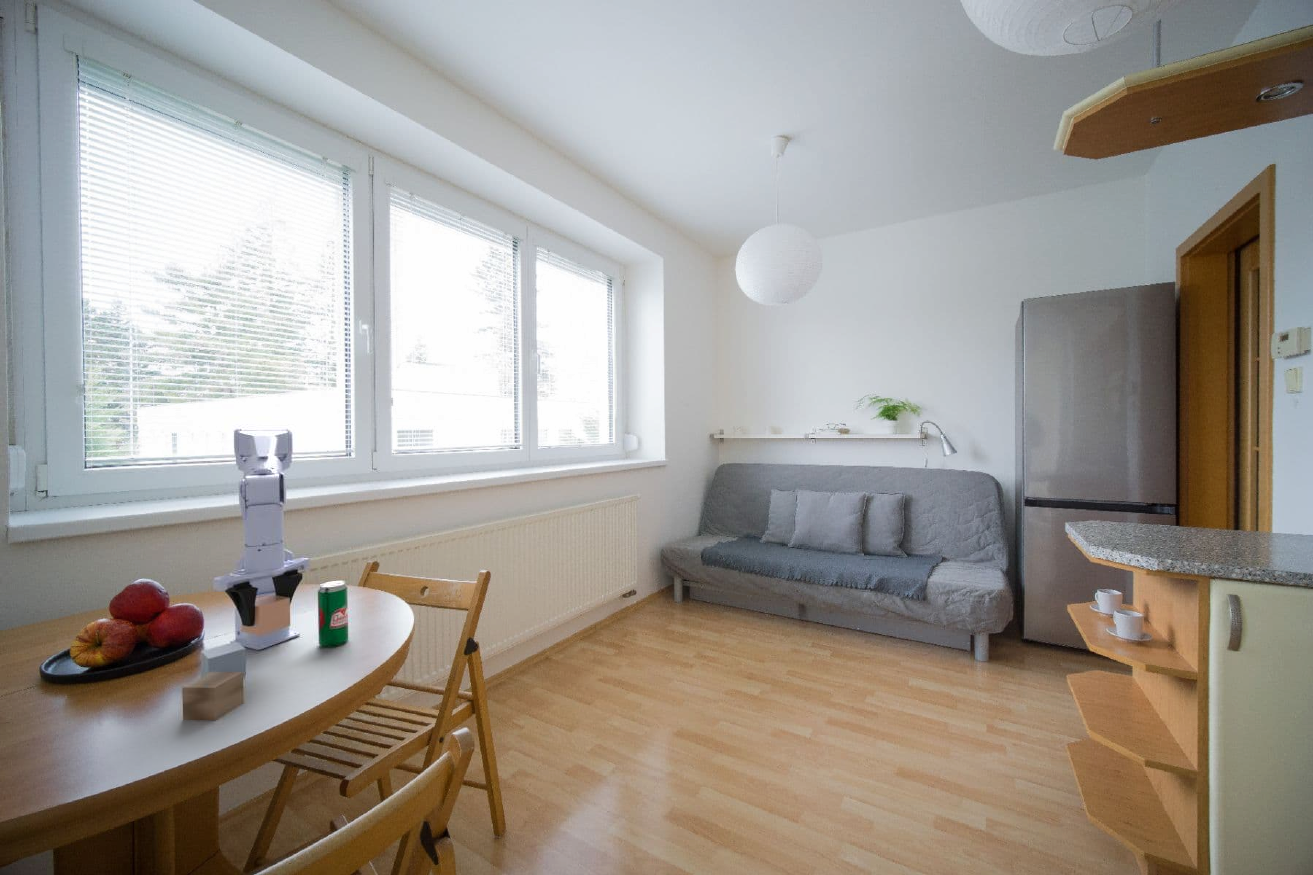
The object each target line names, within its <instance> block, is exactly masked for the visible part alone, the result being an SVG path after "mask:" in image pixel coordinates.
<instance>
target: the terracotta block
mask: <svg viewBox="0 0 1313 875" xmlns="http://www.w3.org/2000/svg"><path fill="white" fill-rule="evenodd" d="M287 626H290V627H291V604H290V598H288V597H283V596H278V595H268V596H265V597H261V598H258V599H256V600H255V622H254V626H251V627H248V626H244V625H243V624H242V632H245V633H250V634H254V635H258V636H261V635H264V634H267V633H270V632H273V631H276V630H279V629H282V628H285V627H287Z"/></svg>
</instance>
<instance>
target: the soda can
mask: <svg viewBox="0 0 1313 875" xmlns="http://www.w3.org/2000/svg"><path fill="white" fill-rule="evenodd" d="M348 596H349V595H348V586H347V584H346V582H345V581H343V580H333V581H328V582H324V583H322V584H319V588H318V590H317V619H318V621H317V624H318V633H317V634H318V645H320V646H321V647H323V648H333V647H339V646H341V645H343V644H344V643H347V641H348V640H349V606H348V605H349V604H348V601H349V600H348V599H349V598H348Z"/></svg>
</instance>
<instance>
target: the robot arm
mask: <svg viewBox="0 0 1313 875" xmlns="http://www.w3.org/2000/svg"><path fill="white" fill-rule="evenodd" d="M233 451H234V456H235V465H237V469H238V471H241V472H243V478H242V479H241V478H240V479H239V481H238V503H239V508H240V511H241V520H243V522H242V534H243V535H242V536H243V539H242V540H243V542H242V544H243V555H242V556H241V557H240V558H239V559H238V561H237V562H236V566H235V568H236V569H235V571H234V572H231V573H229V574H224V575H221V576H218V577H214V578H213V581H212V582H213V590H214V591H218V592H223V591H224V592H225V593H226V594H227V595H228V597H229V598H230V600H231V601H232V602H233V605H234V606H235V609H234V624H235V625H234V627H235V628H234V629H235V630H234V634H235V636H234V637H235V638H234V639H231V640H230V643H233V642H238V643H240V644H241V645H242V646H243V647H244V648H248V649H253V650H258V651H259V650H263V649H265V648H268V647H271V646H274V645H276V644H280V643H282V642H285V641H288V640H290V639H293V638H296V637H299V636H300V634H301V633H300V632H297V631H293V630H290V629H291V628H290V627H291V625H290V626H287V627H285V628H282V629H279V630H276V631H273V632H270V633H267V634H264V635H261V636H258V635H254V634H250V633H245V632H242V624H243V625H244V626H248V627H251V626H254V622H255V600H256V599H258V598H261V597H265V596H268V595H278V596H283V597H288V598H290V605H291V603H292V600H293V597H294V594H295V592H296V590H297V588H298V586H299V585H300V583H301V581H302V580H303V573H302V572H299V571H302V570H303V571H307V570H309V569H311V561H310V558H306V557H300V558H295V555H294V552H292V551H290V550H289V549H285V520H284V519H285V518H284V515H285V514H284V506H286V502H287V481H286V477H285V474H284V471H286V470H288V469H290V468H291V464H292V463H293V462H292V461H293V460H292V458H293V455H292V454H293V430H292V428H290V427H289V426H287V427H256V428H255V427H244V428H243V427H242V428H241V427H236V429H235V430H234V432H233ZM281 503H282V504H283V505H282V504H281Z"/></svg>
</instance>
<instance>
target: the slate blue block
mask: <svg viewBox="0 0 1313 875" xmlns="http://www.w3.org/2000/svg"><path fill="white" fill-rule="evenodd" d="M246 648H247V647H245V646H242V645H241V644H240V643H238V642H233V643H226V644H221V645H218V646H214V647H211V648H208V649H207V648H206V649H204V650H201V651H200V669H201V670H200V671H201V672H200V674H201V677H203V676H205V675H207V674H209V673H211V672H243V678H246V677H247V654H246V650H247V649H246ZM201 677H200V678H201Z"/></svg>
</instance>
